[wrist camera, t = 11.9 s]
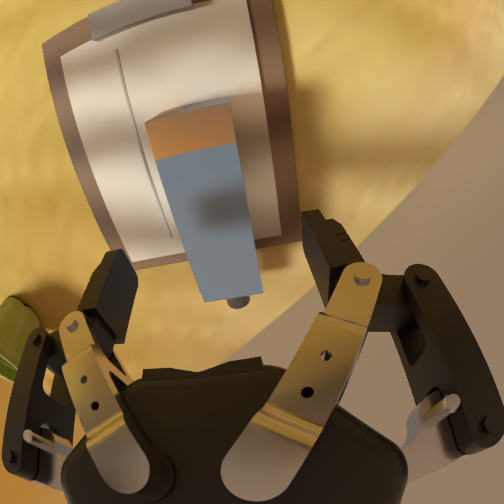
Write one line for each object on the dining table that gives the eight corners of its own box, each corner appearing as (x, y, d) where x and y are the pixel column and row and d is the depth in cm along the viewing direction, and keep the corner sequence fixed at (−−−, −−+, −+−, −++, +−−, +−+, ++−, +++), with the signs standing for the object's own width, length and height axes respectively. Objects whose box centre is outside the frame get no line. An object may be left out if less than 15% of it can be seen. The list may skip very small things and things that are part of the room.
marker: (162, 111, 14) (144, 122, 11) (228, 96, 14) (228, 102, 11) (213, 286, 23) (213, 323, 20) (260, 278, 23) (267, 315, 19)
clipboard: (46, 44, 10) (32, 44, 8) (263, -27, 9) (267, -37, 8) (124, 268, 22) (118, 282, 20) (299, 236, 21) (304, 250, 20)
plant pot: (62, 338, 28) (44, 394, 21) (18, 331, 27) (-1, 378, 20) (29, 287, 22) (-1, 349, 15) (-13, 284, 21) (-41, 334, 14)
